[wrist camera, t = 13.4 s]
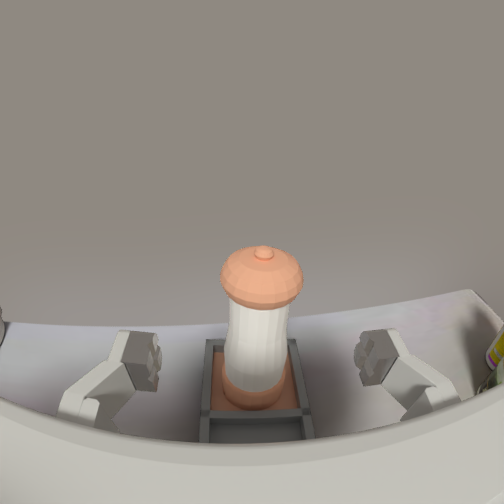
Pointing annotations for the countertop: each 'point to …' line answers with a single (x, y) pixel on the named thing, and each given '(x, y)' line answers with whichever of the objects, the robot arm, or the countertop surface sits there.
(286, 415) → the tray
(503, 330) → the supplement bottle
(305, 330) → the countertop surface
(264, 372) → the salt shaker
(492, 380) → the coffee can
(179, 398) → the countertop surface
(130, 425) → the countertop surface
